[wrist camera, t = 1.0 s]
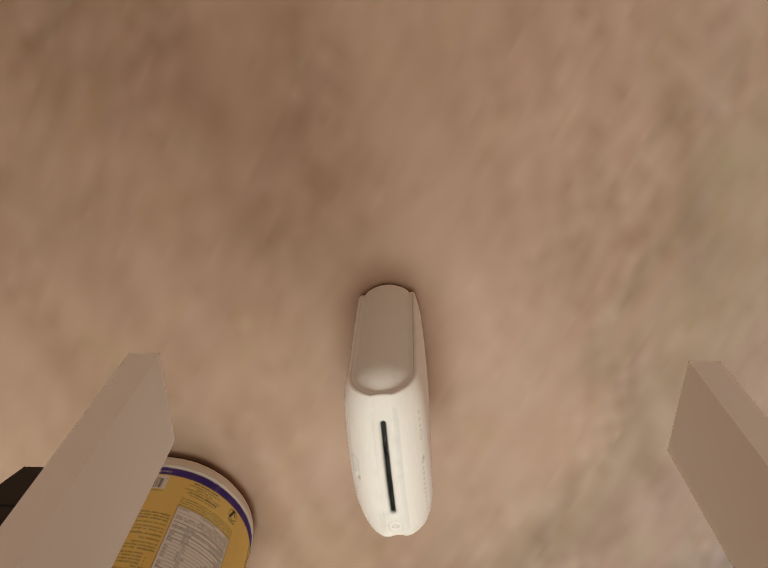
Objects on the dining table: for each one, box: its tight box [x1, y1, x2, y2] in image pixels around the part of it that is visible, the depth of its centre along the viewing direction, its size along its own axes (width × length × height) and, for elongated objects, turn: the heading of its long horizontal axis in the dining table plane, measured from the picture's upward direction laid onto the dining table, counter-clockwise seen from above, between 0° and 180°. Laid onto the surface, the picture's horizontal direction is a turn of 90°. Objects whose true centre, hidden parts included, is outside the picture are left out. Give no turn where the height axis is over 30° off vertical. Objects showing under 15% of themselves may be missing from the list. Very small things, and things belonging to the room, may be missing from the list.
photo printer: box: [345, 285, 433, 537], centre depth 37 cm, size 10×4×12 cm, turn 5°
